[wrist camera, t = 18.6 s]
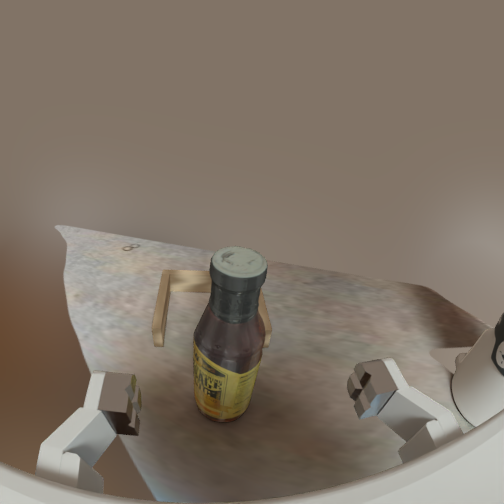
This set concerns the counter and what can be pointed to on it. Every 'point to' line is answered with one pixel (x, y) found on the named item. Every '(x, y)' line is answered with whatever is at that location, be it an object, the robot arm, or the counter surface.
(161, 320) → the wooden bracket
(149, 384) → the counter surface
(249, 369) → the sauce bottle
